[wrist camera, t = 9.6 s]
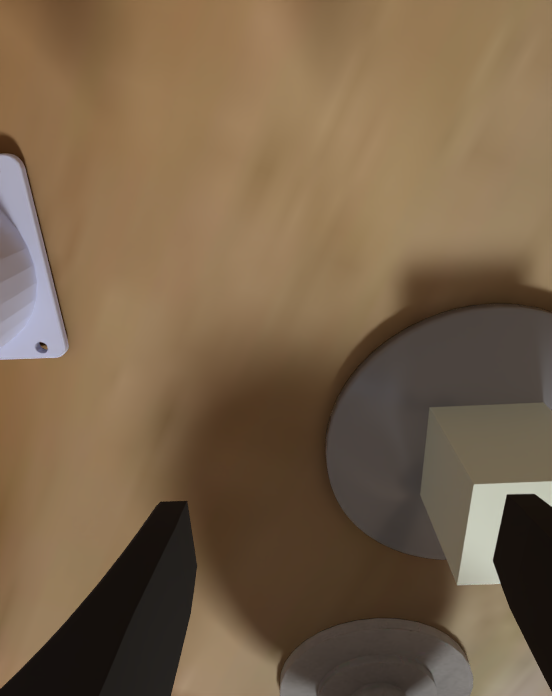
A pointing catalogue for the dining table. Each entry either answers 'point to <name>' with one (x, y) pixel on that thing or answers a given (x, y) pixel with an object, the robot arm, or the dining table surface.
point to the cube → (482, 477)
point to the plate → (427, 409)
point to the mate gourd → (377, 662)
